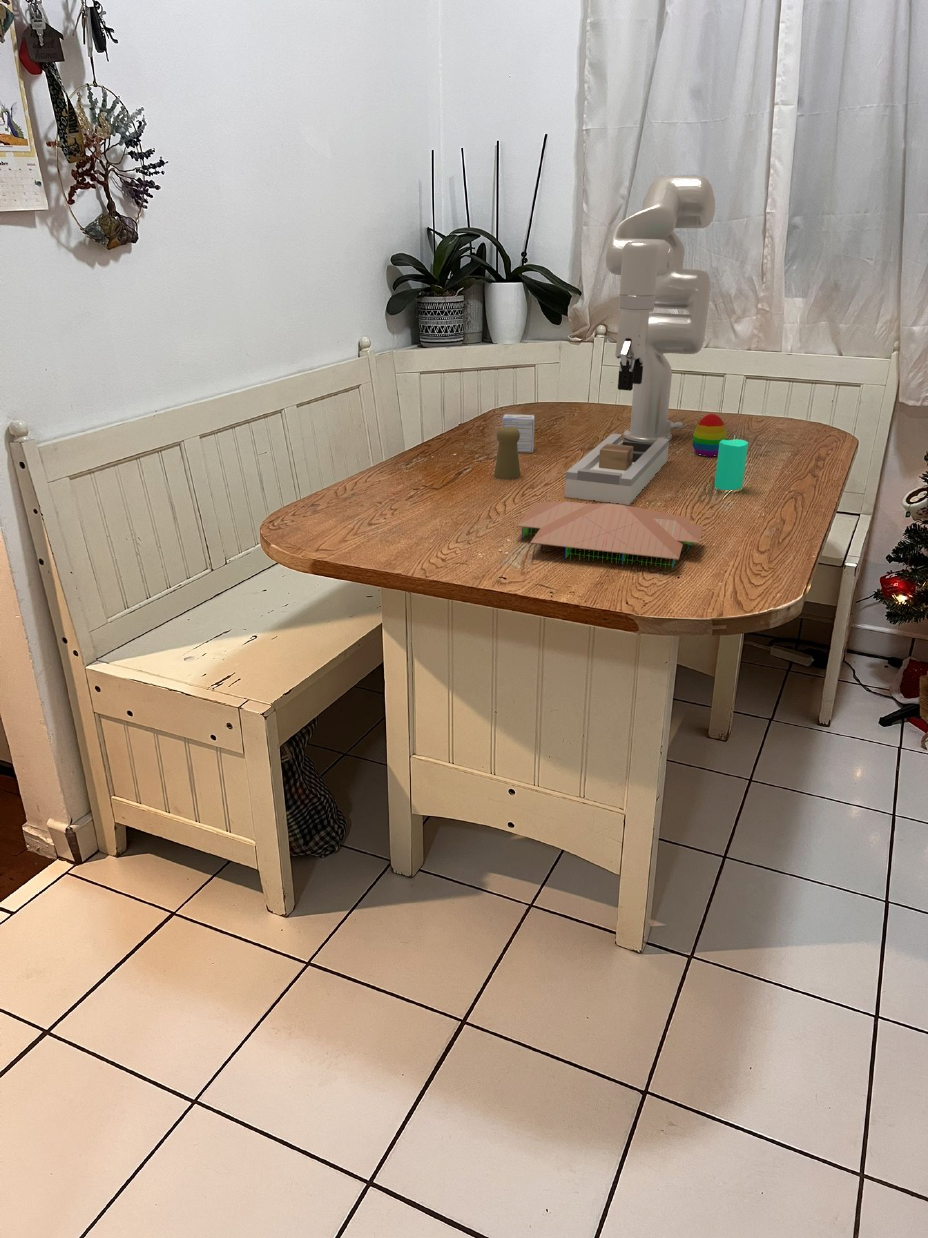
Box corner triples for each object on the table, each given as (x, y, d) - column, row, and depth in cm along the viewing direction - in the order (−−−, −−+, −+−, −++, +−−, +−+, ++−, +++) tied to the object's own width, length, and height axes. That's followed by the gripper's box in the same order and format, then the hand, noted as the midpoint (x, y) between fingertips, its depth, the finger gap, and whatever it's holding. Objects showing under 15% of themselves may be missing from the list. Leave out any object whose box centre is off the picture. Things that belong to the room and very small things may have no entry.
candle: (744, 487, 204) (751, 433, 199) (739, 494, 199) (746, 439, 194) (716, 483, 207) (723, 430, 202) (711, 490, 202) (717, 436, 197)
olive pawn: (523, 473, 213) (525, 425, 209) (516, 480, 208) (517, 431, 204) (498, 470, 215) (499, 423, 211) (490, 477, 210) (491, 429, 205)
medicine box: (533, 448, 234) (535, 414, 231) (533, 453, 230) (534, 418, 227) (502, 447, 235) (503, 413, 231) (501, 452, 231) (502, 417, 227)
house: (693, 578, 156) (698, 533, 153) (505, 556, 165) (506, 513, 162) (703, 535, 176) (708, 494, 173) (534, 518, 185) (536, 478, 182)
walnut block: (605, 460, 209) (607, 443, 207) (632, 463, 206) (633, 446, 205) (598, 467, 203) (599, 449, 202) (625, 470, 201) (626, 452, 200)
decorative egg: (713, 449, 235) (717, 409, 231) (731, 456, 228) (736, 416, 224) (684, 451, 233) (689, 411, 229) (702, 459, 226) (707, 418, 222)
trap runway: (610, 455, 229) (612, 431, 226) (667, 461, 224) (669, 436, 221) (564, 496, 197) (566, 469, 194) (629, 505, 192) (631, 476, 189)
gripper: (629, 298, 206) (622, 379, 214) (608, 306, 192) (602, 391, 199) (662, 300, 204) (655, 381, 211) (644, 308, 189) (637, 394, 196)
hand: (629, 386), depth 205 cm, fingers open, 7 cm apart
